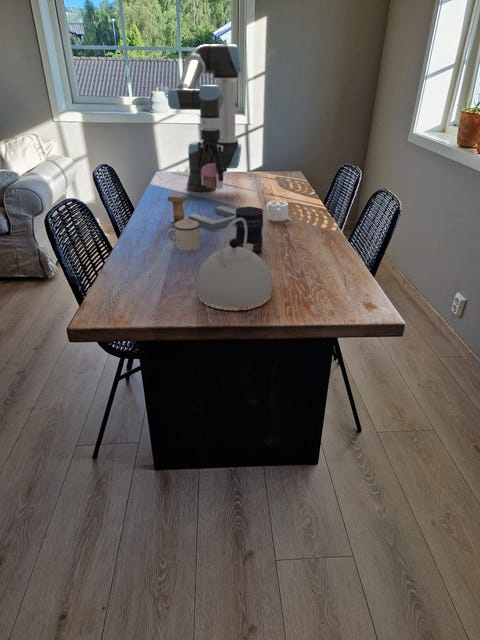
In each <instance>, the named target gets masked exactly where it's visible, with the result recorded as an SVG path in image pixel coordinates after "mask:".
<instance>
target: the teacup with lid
mask: <svg viewBox="0 0 480 640" xmlns="http://www.w3.org/2000/svg"><path fill="white" fill-rule="evenodd" d="M173 226H174V228H173V227H172V228H170V229H168V230H167V232H166V236H167V238H168V239H169V240H170V242H174V243H176V249H177V248H179V249H182V250H194V251H196V250H195V249H197V250H199V249H200V248H201V247H200V246H201V245H200V244H201V243H200V242H201V241H200V240H201V239H200V224H199V223H198V222H197V221H194V220H191V219H189V217H188V215H187V216H184V219H183V220H181V221H178V222H176V223H175V224H174V225H173ZM170 232H175V238H172V237H171V236H170ZM198 248H199V249H198ZM179 249H178V250H179Z"/></svg>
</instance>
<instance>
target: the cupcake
mask: <svg viewBox="0 0 480 640" xmlns="http://www.w3.org/2000/svg"><path fill="white" fill-rule="evenodd" d="M216 172H218V171H217V168H216V165H215V163H210V164H206V165H205V166H203V167H202V169H201V175H202V176H203V180H204V183H205V185H206V187H207V188H209V187H210V188H215V189H217V181H216Z"/></svg>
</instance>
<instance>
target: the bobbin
mask: <svg viewBox="0 0 480 640" xmlns="http://www.w3.org/2000/svg"><path fill="white" fill-rule="evenodd" d="M187 200H188V196H187V195H185V194H181V193H178V194H170V195H168V196H167V201H168V202H171V203H172V210H173V211H172V212H173V213H172V214H173V218H174V219H173V218H172V219H173V220H174V221H173V222H172V223H171V224H173V223H176V222H178V221H181V220H183V219H184V217H185V212H184V211H185V210H184V202H185V201H187Z"/></svg>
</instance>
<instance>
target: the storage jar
mask: <svg viewBox="0 0 480 640" xmlns="http://www.w3.org/2000/svg"><path fill="white" fill-rule="evenodd" d="M235 210H236V218H235V219H237V218H243V219H244V220H245V221H246V224H247V242H246V245H247V243H248V244H253V249H252V252H253V253H255V254H256V255H258V256H259V255H260V254H262V252H263V249H262V248H263V243H264V242H263V241H264V239H263V228H264V209H262V208H260V207H255V206H242V207H238V208H236V209H235ZM235 227H236V228H235V229H236V236H235V239H237V240H238V242H239V245H238V246H237V247H242V248H243V243H244V236H245V228H244V223H243V221H238V222H236V223H235Z"/></svg>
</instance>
